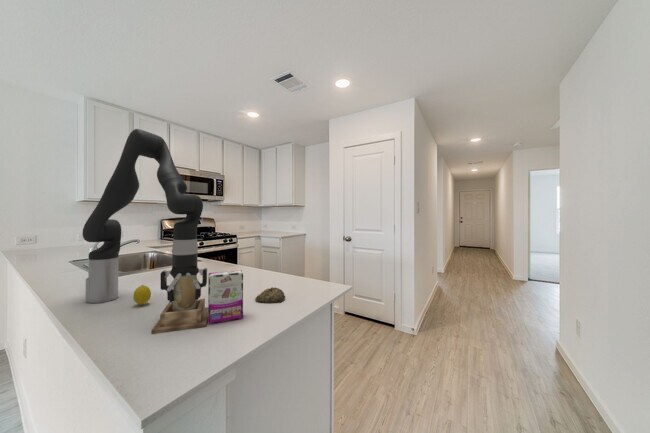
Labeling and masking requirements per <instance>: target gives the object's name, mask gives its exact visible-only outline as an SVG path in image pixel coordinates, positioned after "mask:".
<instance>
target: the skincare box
mask: <svg viewBox="0 0 650 433" xmlns="http://www.w3.org/2000/svg"><path fill="white" fill-rule="evenodd" d="M197 275H198V274H197ZM197 275H192V276H186V275H184V276H181V277H180V278H179V280H178V281H177V282H176V284H175V285H174V287H173V301H172V302H173V309H172V310H174V311H185V310H195V308H196V287H195V284H193V278H194V279H195V280H196V281H197V279H198V278H197V277H198V276H197Z"/></svg>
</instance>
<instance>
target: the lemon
mask: <svg viewBox="0 0 650 433" xmlns="http://www.w3.org/2000/svg"><path fill="white" fill-rule="evenodd" d="M132 297H133V301H134V303H135V304H138V305H140V306H144V304H146V303H148V302H149V301H150V299H151V297H152V292H151V289H150V287H148V286H147V285H145V284H142V285H140V286H137V287H136V289H135V290H134V291H133V295H132Z"/></svg>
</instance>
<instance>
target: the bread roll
mask: <svg viewBox="0 0 650 433" xmlns="http://www.w3.org/2000/svg"><path fill="white" fill-rule="evenodd" d="M285 299H286V296H285V293H284V291H283V290H282V289H280V288H279V287H273V286H272V287H270V288H266V289H264V290H263V291H261V293H259V294H257V296H256V297H255V299H254V301H255V302H256V303H263V304H276V303H277V304H278V303H282V302H283V301H285Z"/></svg>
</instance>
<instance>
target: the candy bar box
mask: <svg viewBox="0 0 650 433" xmlns="http://www.w3.org/2000/svg"><path fill="white" fill-rule="evenodd" d="M207 285H208V287H207V288H208V290H207V291H208V292H207V295H208V298H207V304H208V306H207V307H208V321H207V324H208V325H214V324H219V323H226V322H231V321H236V320H242V319H244V271H243V270H241V269H239V270H229V271H227V270H226V271H218V272H217V271H216V272H208V274H207Z"/></svg>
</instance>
